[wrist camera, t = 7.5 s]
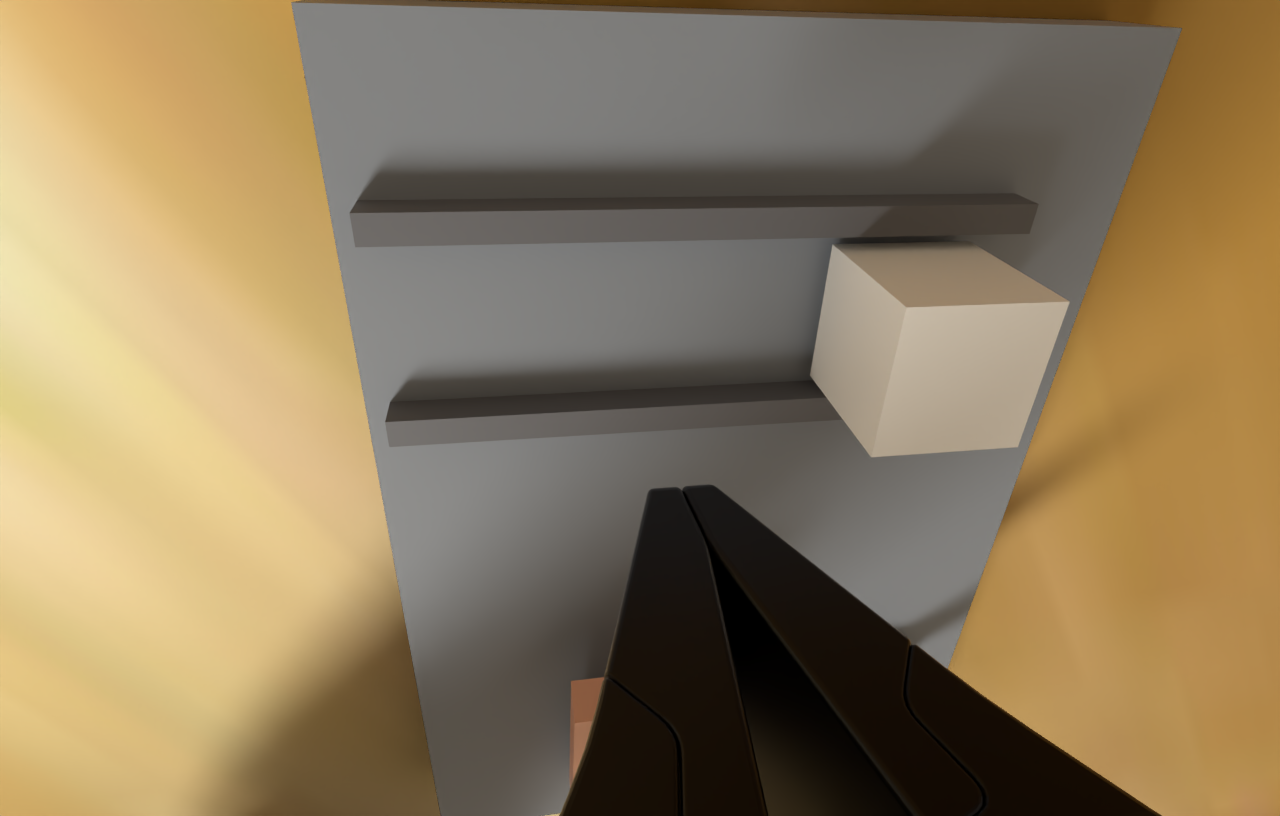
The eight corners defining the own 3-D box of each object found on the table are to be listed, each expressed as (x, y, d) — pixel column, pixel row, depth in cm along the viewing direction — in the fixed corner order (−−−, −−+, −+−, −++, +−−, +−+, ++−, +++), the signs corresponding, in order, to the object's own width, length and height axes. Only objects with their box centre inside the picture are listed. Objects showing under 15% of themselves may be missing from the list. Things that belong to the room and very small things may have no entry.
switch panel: (446, 771, 25) (441, 858, 23) (317, -4, 13) (276, 5, 11) (887, 714, 28) (924, 788, 25) (1109, 20, 16) (1221, 31, 13)
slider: (809, 375, 16) (870, 457, 14) (832, 244, 15) (906, 307, 12) (934, 369, 17) (1017, 447, 14) (969, 241, 15) (1070, 301, 13)
